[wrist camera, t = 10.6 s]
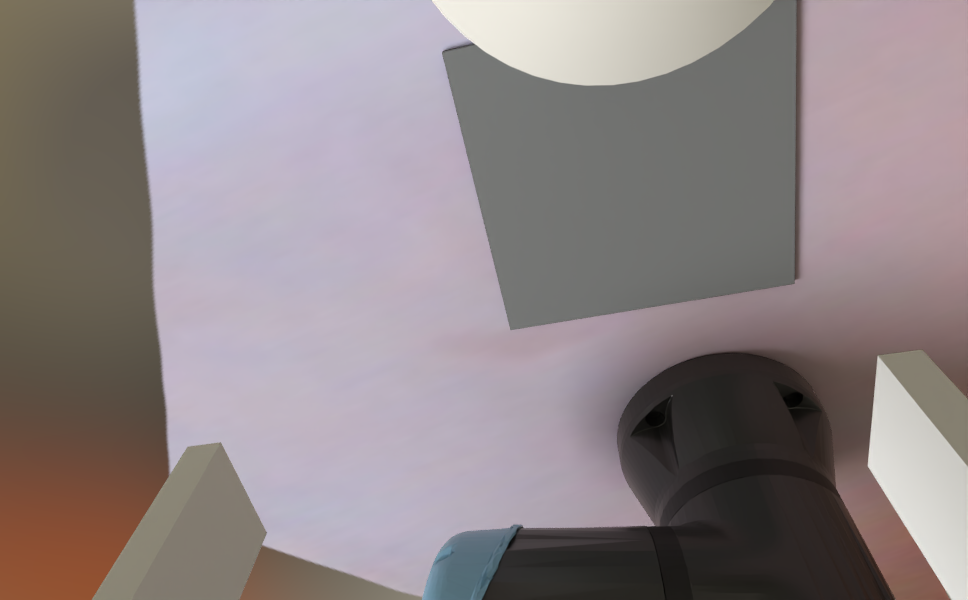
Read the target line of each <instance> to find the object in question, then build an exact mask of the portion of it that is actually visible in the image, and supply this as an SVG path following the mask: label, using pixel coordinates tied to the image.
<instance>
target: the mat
mask: <svg viewBox="0 0 968 600" xmlns="http://www.w3.org/2000/svg"><path fill="white" fill-rule="evenodd" d="M796 4H797V0H774V1H773V3H772V4H771V5H770V6H769V7H768V8H767V9H766V10H765V11H764V12H763V13H762V14H760V15H759V16H758V17H757V18H756V19H755V20H754V21H753V22H752V23H751V24H749V25H748V26H747V27H746V28H745V29H744V30H743V31H741V32H740V33H739V34H737V35H736V36H734V37H733V38H732V39H730V40H729V41H728V42H726V43H725V44H723V45H722V46H721V47H719V48H718V49H716V50H714V51H712V52H711V53H709V54H707V55H705V56H703V57H702V58H700V59H698V60H696V61H695V62H693V63H691V64H688V65H686V66H683V67H681V68H679V69H676V70H674V71H671V72H669V73H667V74H663V75H660V76H656V77H653V78H649V79H645V80H642V81H637V82H631V83H624V84H617V85H593V86H585V85H576V84H568V83H559V82H555V81H552V80H548V79H544V78H540V77H536V76H533V75H530V74H528V73H525V72H523V71H521V70H518V69H516V68H513V67H511V66H509V65H507V64H505V63H503V62H502V61H500V60H498V59H496V58H495V57H493V56H491V55H489V54H488V53H486V52H485V51H483V50H482V49H481V48H479V47H478V46H477V45H475V44H472V45H468V46H464V47H459V48H455V49H451V50H446V51H443V52H442V55H443V59H444V63H445V67H446V71H447V75H448V79H449V83H450V87H451V91H452V95H453V99H454V103H455V107H456V111H457V115H458V119H459V123H460V127H461V131H462V136H463V140H464V144H465V148H466V152H467V156H468V160H469V164H470V168H471V172H472V176H473V180H474V184H475V188H476V192H477V196H478V200H479V204H480V208H481V212H482V216H483V220H484V224H485V229H486V233H487V237H488V241H489V245H490V249H491V253H492V257H493V261H494V265H495V269H496V273H497V277H498V281H499V285H500V289H501V293H502V297H503V301H504V305H505V309H506V313H507V317H508V322H509V326H510V330H514V329H520V328H526V327H533V326H539V325H545V324H551V323H557V322H563V321H569V320H575V319H582V318H588V317H594V316H600V315H606V314H612V313H618V312H625V311H631V310H637V309H643V308H649V307H655V306H661V305H667V304H674V303H680V302H686V301H692V300H698V299H704V298H710V297H717V296H723V295H729V294H735V293H741V292H747V291H753V290H759V289H766V288H772V287H778V286H784V285H790V284H795V145H796Z"/></svg>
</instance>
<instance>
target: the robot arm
mask: <svg viewBox="0 0 968 600" xmlns="http://www.w3.org/2000/svg"><path fill="white" fill-rule="evenodd" d="M617 444H618V451H619V457H620V462H621V467H622V471H623V474H624V476H625V479H626V481H627V483H628V485H629V487H630V488H631V490H632V491H633V493H634V494H635V496H636V497H637V499H638V500H639V502H640V503H641V505H642V506H643V508H644V509H645V511H646V512H647V514H648V516H649V517H650V519H651V520H652V522H653V523H654V525H655V526H651V527H647V526H630V527H594V528H523V526H522V525H513V526H511V527H510V528H506V529H492V530H478V531H467V532H462V533H459V534H457V535H455V536H453V537H452V538H451V539H449V540H448V541H447V542H446V543H445V544H444V546H443V547H442V548H441V550H440V551H439V553H438V554H437V556H436V558H435V561H434V563H433V566H432V568H431V571H430V574H429V577H428V580H427V583H426V586H425V590H424V594H423V598H422V600H896V599H895V597H894V595H893V594H892V592H891V590H890V588H889V586H888V584H887V582H886V580H885V579H884V577H883V575H882V573H881V571H880V569H879V567H878V566H877V564H876V562H875V560H874V558H873V556H872V554H871V553H870V551H869V549H868V547H867V545H866V543H865V541H864V539H863V538H862V536H861V534H860V532H859V530H858V528H857V526H856V525H855V523H854V521H853V519H852V517H851V515H850V513H849V512H848V510H847V508H846V506H845V505H844V503H843V501H842V499H841V497H840V495H839V493H838V491H837V489H836V482H835V469H834V457H833V444H832V433H831V427H830V423H829V420H828V417H827V414H826V412H825V410H824V408H823V406H822V405H821V403H820V401H819V399H818V398H817V396H816V394H815V393H814V391H813V389H812V388H811V386H810V385H809V384H808V383H807V382H806V380H805V379H804V378H803V377H801V376H800V375H799V374H798V373H797V372H795V371H794V370H792V369H791V368H789V367H787V366H785V365H783V364H781V363H779V362H777V361H774V360H771V359H768V358H764V357H760V356H755V355H748V354H717V355H710V356H704V357H700V358H696V359H693V360H689V361H686V362H683V363H681V364H678V365H676V366H674V367H672V368H670V369H668V370H666V371H664V372H662V373H661V374H659V375H657V376H656V377H654V378H653V379H652V380H650V381H649V382H648V383H647V384H645V385H644V386H643V387H642V388H641V389H640V390H639V391H638V392H637V393H636V394H635V395H634V397H633V398H632V399H631V401H630V402H629V403H628V405H627V407H626V408H625V410H624V412H623V414H622V417H621V419H620V423H619V426H618V433H617ZM868 467H869V469H870V470H871V472H872V474H873V475H874V477H875V478H876V480H877V482H878V483H879V485H880V486H881V488H882V490H883V491H884V493H885V494H886V496H887V497H888V499H889V501H890V502H891V504H892V505H893V507H894V509H895V510H896V512H897V513H898V515H899V517H900V518H901V520H902V521H903V523H904V525H905V526H906V528H907V529H908V531H909V532H910V534H911V536H912V537H913V539H914V540H915V542H916V544H917V545H918V547H919V548H920V550H921V552H922V553H923V555H924V556H925V558H926V560H927V561H928V563H929V564H930V566H931V567H932V569H933V571H934V572H935V574H936V575H937V577H938V579H939V580H940V582H941V583H942V585H943V587H944V588H945V590H946V591H947V593H948V595H949V596H950V598H951V599H952V600H968V399H967V398H966V397H965V396H964V394H963V393H962V392H961V391H960V390H959V389H958V388H957V387H956V386H955V385H954V384H953V383H952V381H951V380H950V379H949V378H948V377H947V376H946V375H945V374H944V373H943V372H942V371H941V370H940V368H939V367H938V366H937V365H936V364H935V363H934V362H933V361H932V360H931V359H930V358H929V357H928V355H927V354H926V353H925V352H924V351H923V350H915V351H908V352H900V353H893V354H885V355H878V359H877V370H876V381H875V392H874V403H873V414H872V425H871V436H870V447H869V458H868ZM265 536H266V531H265V529H264V527H263V525H262V523H261V521H260V519H259V517H258V515H257V513H256V511H255V509H254V507H253V505H252V503H251V501H250V499H249V497H248V495H247V493H246V491H245V489H244V487H243V485H242V483H241V481H240V479H239V477H238V475H237V473H236V471H235V469H234V467H233V465H232V463H231V462H230V460H229V458H228V456H227V454H226V452H225V450H224V448H223V446H222V444H221V443H213V444H206V445H198V446H190V447H187V449H186V450H185V452H184V453H183V455H182V457H181V458H180V460H179V461H178V463H177V465H176V466H175V468H174V469H173V471H172V473H171V474H170V476H169V477H168V479H167V481H166V483H165V484H164V486H163V487H162V489H161V490H160V492H159V493H158V495H157V497H156V498H155V500H154V501H153V503H152V505H151V506H150V508H149V509H148V511H147V513H146V514H145V516H144V517H143V519H142V521H141V522H140V524H139V525H138V527H137V529H136V530H135V532H134V533H133V535H132V537H131V538H130V540H129V541H128V543H127V545H126V546H125V548H124V549H123V551H122V552H121V554H120V556H119V557H118V559H117V560H116V562H115V564H114V565H113V567H112V569H111V570H110V572H109V573H108V575H107V576H106V578H105V580H104V581H103V583H102V584H101V586H100V588H99V589H98V591H97V592H96V594H95V596H94V597H93V599H92V600H239V599H240V597H241V594H242V592H243V589H244V587H245V584H246V581H247V580H248V577H249V575H250V572H251V570H252V567H253V565H254V563H255V560H256V558H257V555H258V553H259V550H260V548H261V546H262V543H263V541H264V538H265Z"/></svg>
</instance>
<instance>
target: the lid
mask: <svg viewBox="0 0 968 600" xmlns="http://www.w3.org/2000/svg"><path fill="white" fill-rule="evenodd" d="M432 1H433V3H434V4H435V5H436V6H437V8H438V9H439V10H440V12H441V13H442V14H443V15H444V16H445V17H446V18H447V19H448V20H449V21H450V22H451V23H452V24H453V25H454V26H455V27H456V28H457V29H458V30H459V31H460V32H461V33H462V34H463V35H464V36H465V37H466V38H468V39H469V40H470V41H472V42H473V43H474V44H475V45H477V46H478V47H479V48H481V49H482V50H483V51H485V52H486V53H488V54H489V55H491V56H493V57H495V58H496V59H498V60H500V61H502V62H503V63H505V64H507V65H509V66H511V67H513V68H516V69H518V70H521V71H523V72H525V73H528V74H530V75H533V76H536V77H540V78H544V79H548V80H552V81H555V82H559V83H568V84H576V85H585V86H593V85H617V84H624V83H631V82H637V81H642V80H645V79H649V78H653V77H656V76H660V75H663V74H667V73H669V72H671V71H674V70H676V69H679V68H681V67H683V66H686V65H688V64H691V63H693V62H695V61H696V60H698V59H700V58H702V57H703V56H705V55H707V54H709V53H711V52H712V51H714V50H716V49H718V48H719V47H721V46H722V45H723V44H725V43H726V42H728V41H729V40H730V39H732V38H733V37H734V36H736V35H737V34H739V33H740V32H741V31H743V30H744V29H745V28H746V27H747V26H748V25H749V24H751V23H752V22H753V21H754V20H755V19H756V18H757V17H758V16H759V15H760V14H762V13H763V12H764V11H765V10H766V9H767V8H768V7H769V6H770V5H771V4H772V3H773V1H774V0H432Z"/></svg>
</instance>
